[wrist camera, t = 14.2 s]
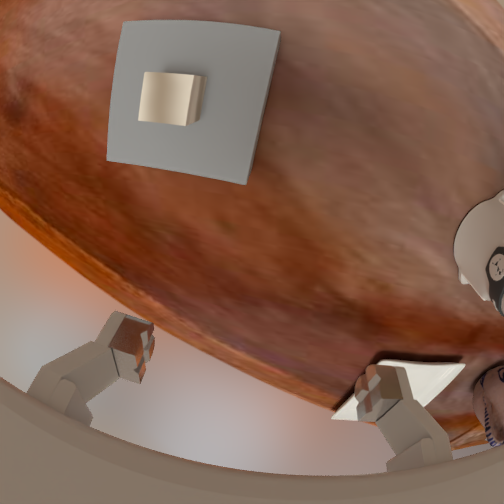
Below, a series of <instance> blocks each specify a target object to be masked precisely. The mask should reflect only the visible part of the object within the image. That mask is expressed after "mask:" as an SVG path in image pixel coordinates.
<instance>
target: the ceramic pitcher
mask: <svg viewBox="0 0 504 504" xmlns="http://www.w3.org/2000/svg"><path fill="white" fill-rule="evenodd" d="M473 409H474V411H475V414H476V416H477V418H478V419H479V421H480V422H481V424H482V425H483V427H484V428H485V432H486V437H487V440H488V442H489V444H490V445H491V446H493V447H494V448H495V447H497V446H500V445H504V366H498V367H496V368H494V369H491V370H489V371H487V372H486V373H485V374H484V375H483V376H482V377H481V378H480V379H479V381H478V382H477V384H476V386H475V389H474V393H473Z"/></svg>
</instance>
